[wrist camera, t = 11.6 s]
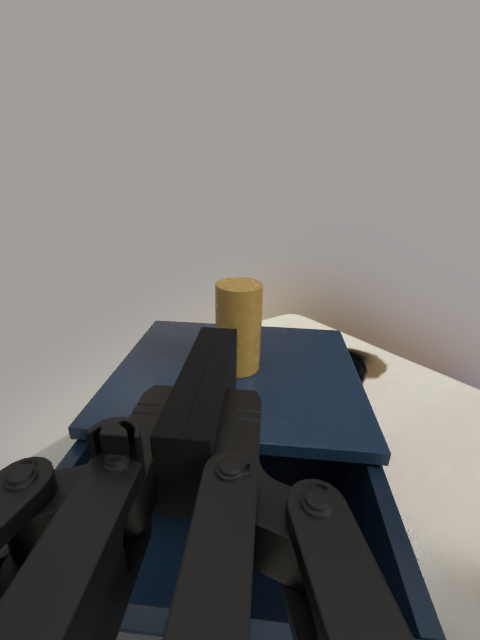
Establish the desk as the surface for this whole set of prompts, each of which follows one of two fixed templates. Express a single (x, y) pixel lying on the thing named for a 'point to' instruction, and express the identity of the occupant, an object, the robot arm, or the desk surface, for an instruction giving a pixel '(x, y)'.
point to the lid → (259, 381)
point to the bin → (267, 600)
